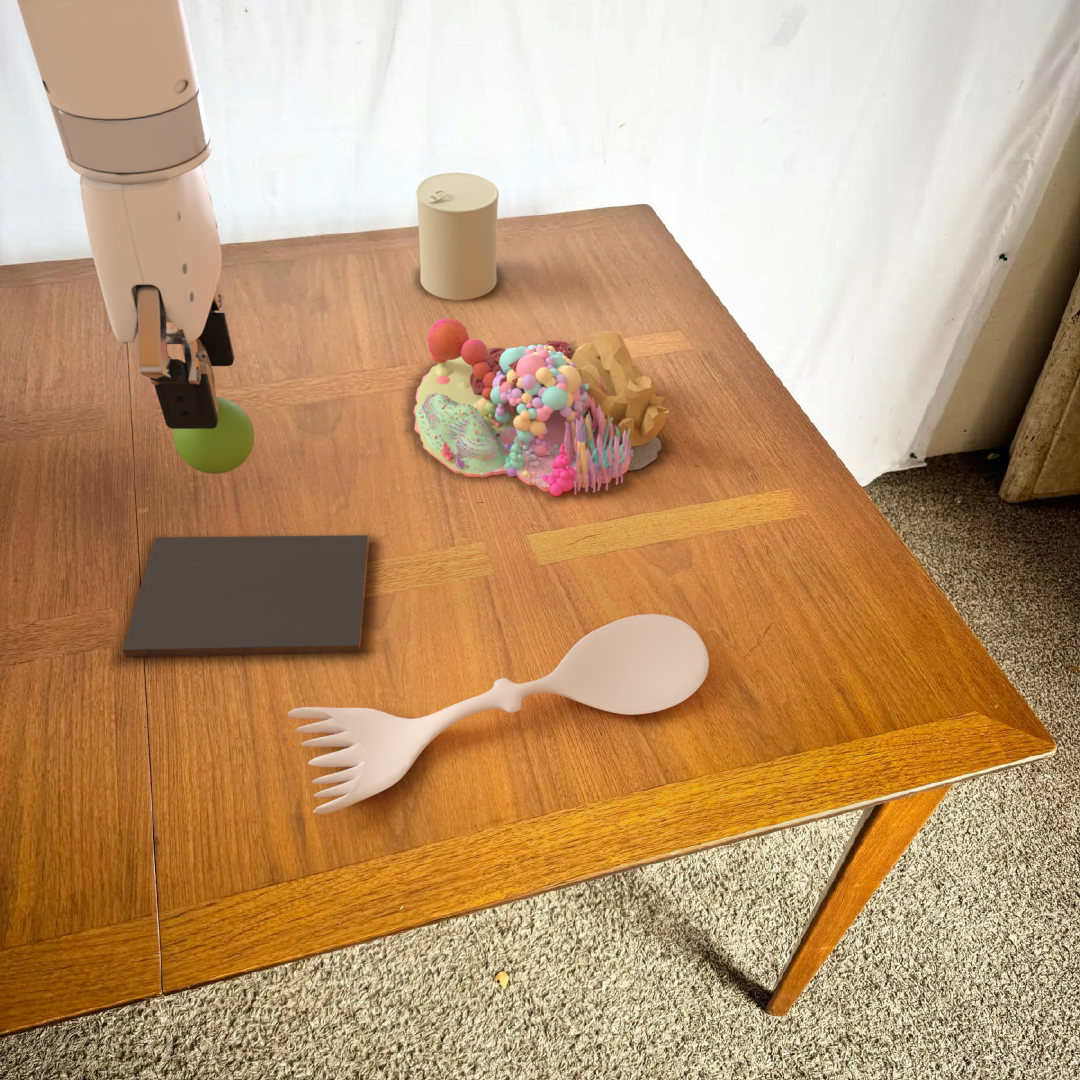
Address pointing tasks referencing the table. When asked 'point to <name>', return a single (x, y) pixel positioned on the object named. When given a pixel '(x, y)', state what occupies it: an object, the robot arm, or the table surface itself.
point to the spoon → (514, 702)
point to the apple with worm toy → (216, 432)
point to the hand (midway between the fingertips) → (202, 391)
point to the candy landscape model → (537, 410)
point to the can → (457, 235)
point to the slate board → (250, 596)
